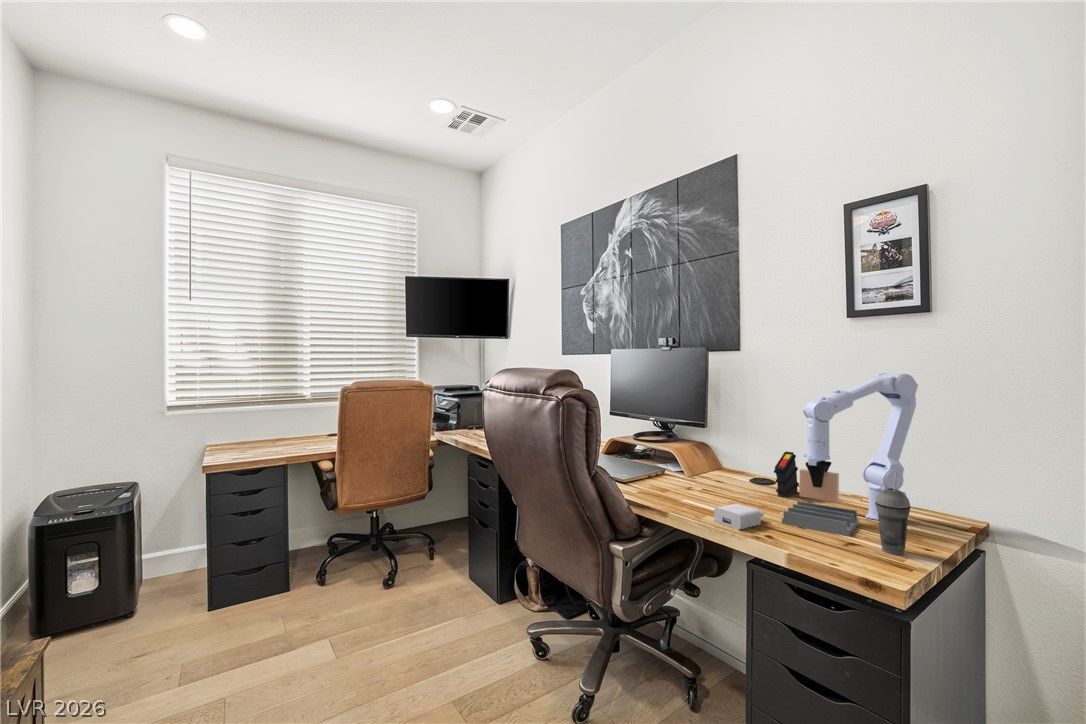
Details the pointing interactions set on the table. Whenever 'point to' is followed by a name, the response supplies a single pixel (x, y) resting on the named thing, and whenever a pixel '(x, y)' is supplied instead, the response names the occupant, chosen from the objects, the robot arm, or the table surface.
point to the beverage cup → (893, 519)
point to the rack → (821, 518)
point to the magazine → (786, 475)
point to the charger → (738, 516)
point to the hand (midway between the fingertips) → (818, 486)
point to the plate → (827, 490)
